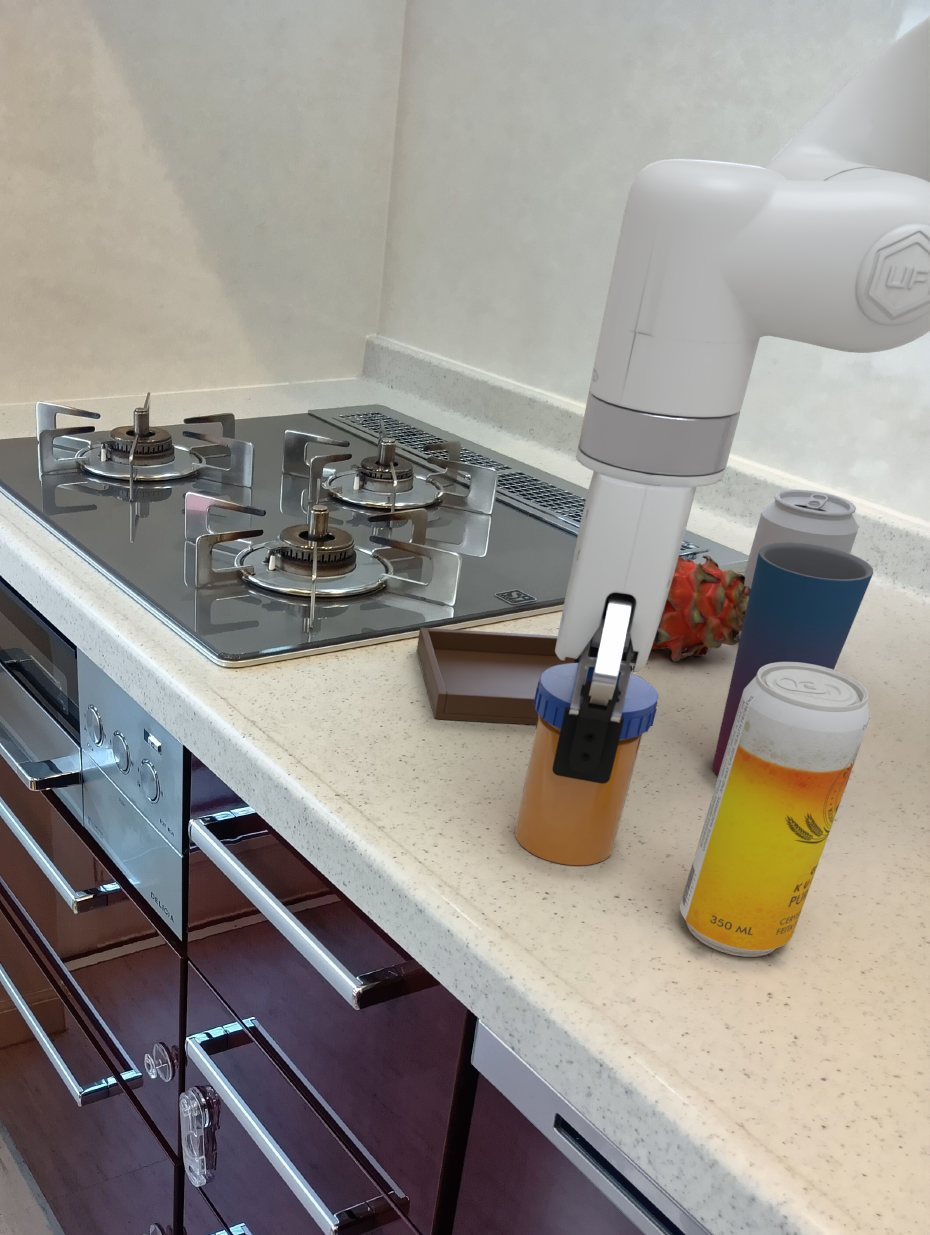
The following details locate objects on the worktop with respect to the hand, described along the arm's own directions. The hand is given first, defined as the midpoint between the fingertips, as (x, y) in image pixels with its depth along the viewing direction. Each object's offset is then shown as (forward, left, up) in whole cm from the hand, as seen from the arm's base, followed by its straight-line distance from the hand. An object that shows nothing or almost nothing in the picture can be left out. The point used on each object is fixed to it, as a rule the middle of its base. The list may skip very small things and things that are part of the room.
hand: (585, 746), depth 76 cm
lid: (0, 0, +3) cm, 3 cm away
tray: (-1, -22, -6) cm, 23 cm away
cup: (-15, -10, -7) cm, 19 cm away
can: (-25, -35, -7) cm, 43 cm away
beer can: (-8, +9, -7) cm, 14 cm away
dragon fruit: (-15, -31, -7) cm, 35 cm away
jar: (0, 0, -6) cm, 6 cm away
